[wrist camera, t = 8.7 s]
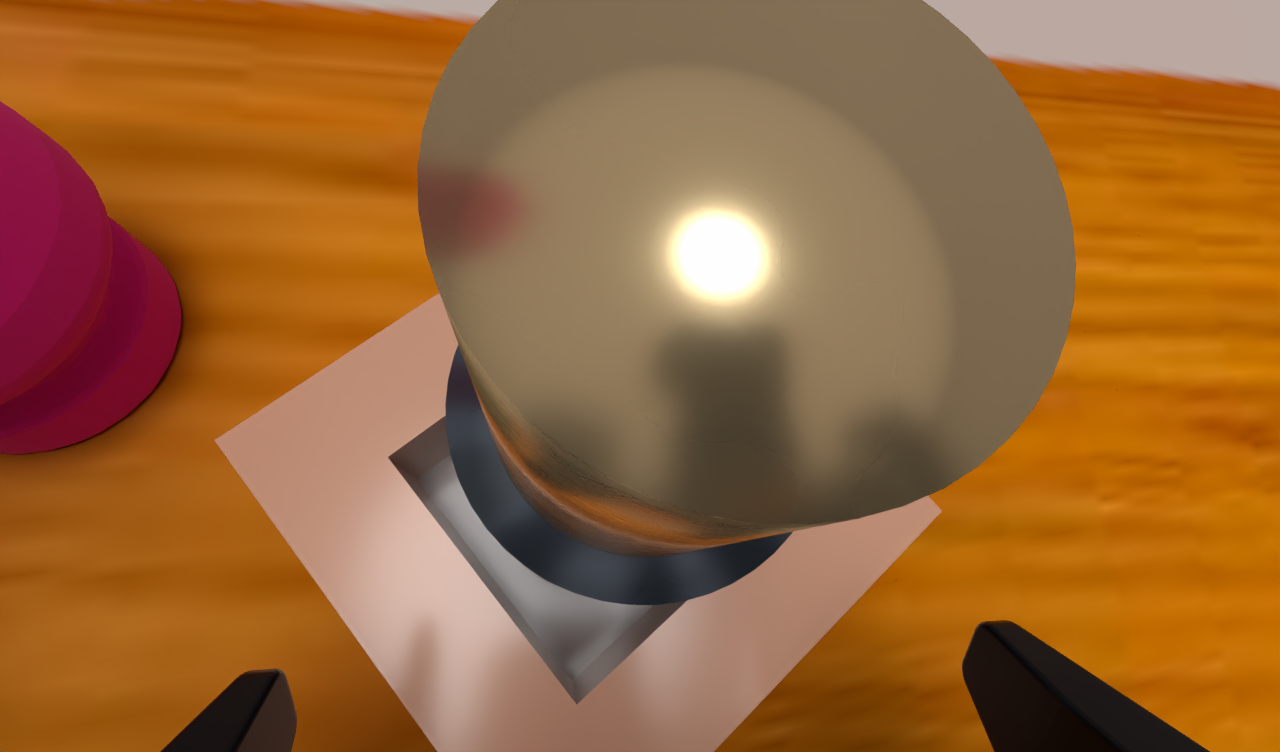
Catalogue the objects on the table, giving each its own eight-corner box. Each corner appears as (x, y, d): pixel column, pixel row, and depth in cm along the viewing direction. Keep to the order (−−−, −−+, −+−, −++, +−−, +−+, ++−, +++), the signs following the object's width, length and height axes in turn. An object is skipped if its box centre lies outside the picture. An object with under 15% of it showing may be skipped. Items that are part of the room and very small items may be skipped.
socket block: (869, 523, 18) (942, 511, 15) (555, 841, 15) (556, 917, 11) (615, 238, 20) (628, 168, 16) (282, 468, 16) (214, 440, 13)
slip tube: (713, 509, 17) (1297, 261, 4) (577, 632, 16) (755, 909, 2) (602, 378, 18) (772, -219, 4) (462, 485, 16) (112, 81, 3)
